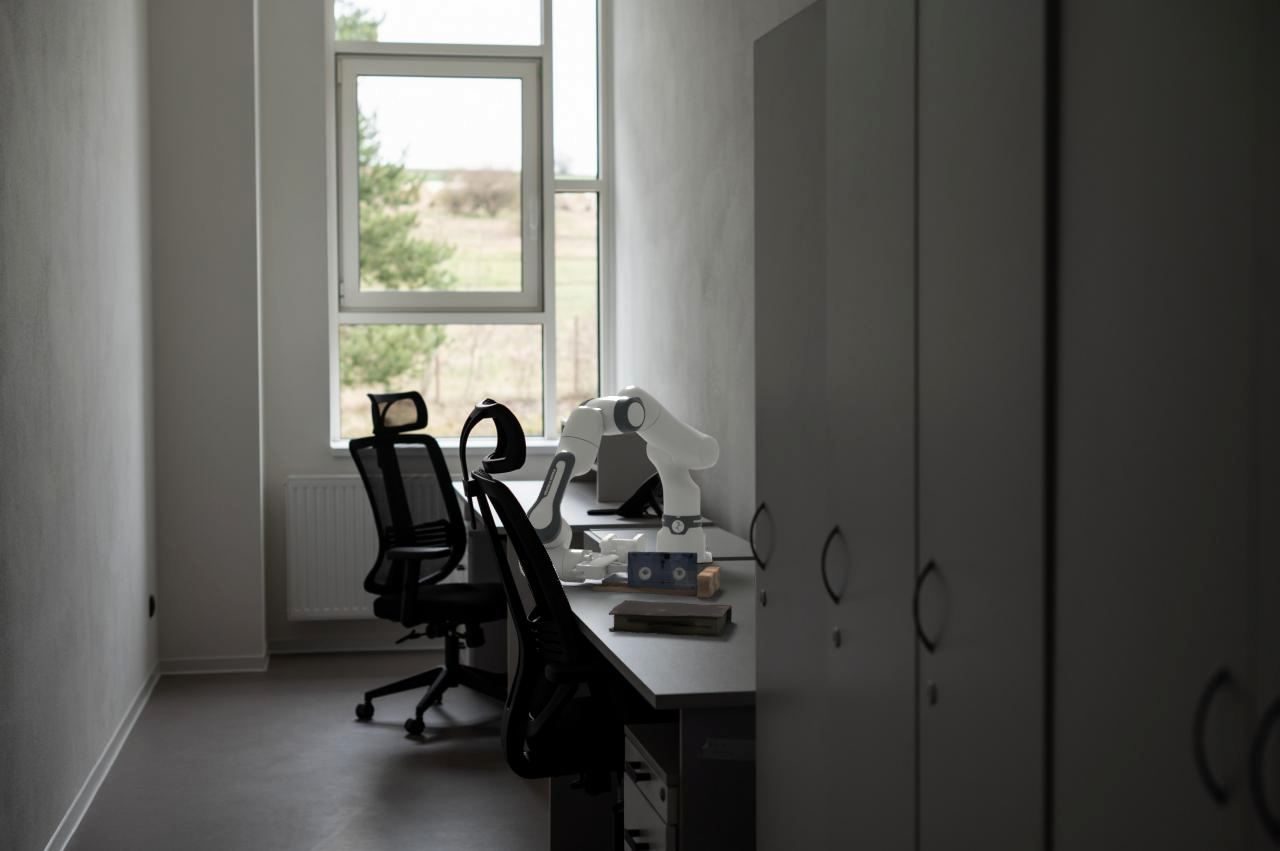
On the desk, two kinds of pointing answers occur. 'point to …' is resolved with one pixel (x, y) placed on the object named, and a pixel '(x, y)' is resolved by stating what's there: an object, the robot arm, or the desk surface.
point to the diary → (671, 618)
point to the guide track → (705, 589)
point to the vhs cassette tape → (662, 570)
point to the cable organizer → (622, 547)
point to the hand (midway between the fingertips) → (628, 568)
